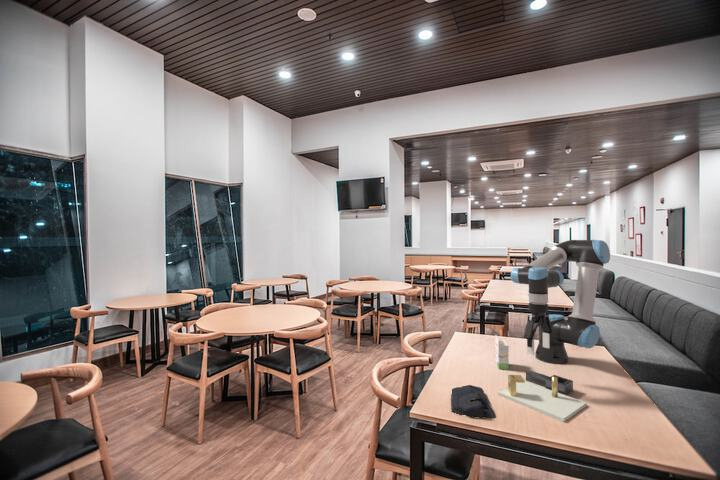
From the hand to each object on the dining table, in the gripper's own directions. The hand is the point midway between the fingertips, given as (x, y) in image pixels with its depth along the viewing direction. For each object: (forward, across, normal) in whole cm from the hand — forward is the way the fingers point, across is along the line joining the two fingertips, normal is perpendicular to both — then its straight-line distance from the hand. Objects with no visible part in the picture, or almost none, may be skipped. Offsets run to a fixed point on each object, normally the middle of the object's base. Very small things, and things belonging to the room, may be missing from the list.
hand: (538, 350), depth 148 cm
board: (+14, +14, +8) cm, 22 cm away
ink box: (+15, -6, -21) cm, 26 cm away
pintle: (+13, +9, +11) cm, 20 cm away
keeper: (+14, +19, +1) cm, 24 cm away
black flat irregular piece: (+15, +38, -8) cm, 42 cm away
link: (+15, 0, +4) cm, 15 cm away
